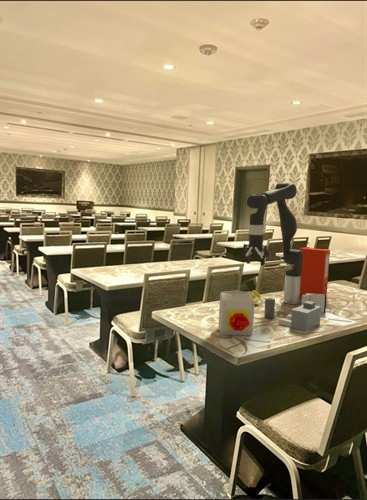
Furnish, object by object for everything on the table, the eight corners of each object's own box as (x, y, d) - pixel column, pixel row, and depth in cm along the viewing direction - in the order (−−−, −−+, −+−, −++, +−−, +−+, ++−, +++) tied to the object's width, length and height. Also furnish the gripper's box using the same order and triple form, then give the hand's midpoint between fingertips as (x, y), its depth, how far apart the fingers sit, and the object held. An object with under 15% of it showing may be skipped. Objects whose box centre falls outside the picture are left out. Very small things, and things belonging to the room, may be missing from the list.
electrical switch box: (221, 343, 164) (223, 302, 158) (218, 328, 178) (220, 289, 173) (254, 344, 164) (257, 303, 158) (248, 328, 178) (251, 290, 173)
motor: (295, 315, 200) (297, 295, 199) (322, 321, 190) (324, 300, 189) (278, 323, 186) (279, 302, 184) (306, 331, 176) (307, 308, 174)
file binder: (301, 293, 253) (304, 247, 249) (326, 297, 242) (329, 249, 238) (296, 295, 247) (299, 248, 243) (321, 299, 236) (325, 250, 232)
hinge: (301, 312, 207) (302, 295, 206) (299, 310, 212) (300, 293, 211) (326, 313, 206) (327, 296, 205) (323, 310, 211) (324, 293, 210)
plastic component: (243, 305, 210) (231, 295, 216) (239, 315, 214) (227, 304, 220) (264, 298, 223) (252, 288, 229) (260, 307, 227) (248, 297, 232)
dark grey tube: (267, 315, 200) (268, 296, 198) (275, 317, 196) (276, 297, 195) (262, 317, 196) (263, 297, 194) (271, 319, 192) (272, 299, 191)
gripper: (272, 234, 187) (270, 265, 189) (248, 232, 197) (247, 262, 199) (264, 234, 182) (263, 266, 184) (240, 233, 192) (239, 263, 194)
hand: (255, 264), depth 191 cm, fingers open, 8 cm apart
